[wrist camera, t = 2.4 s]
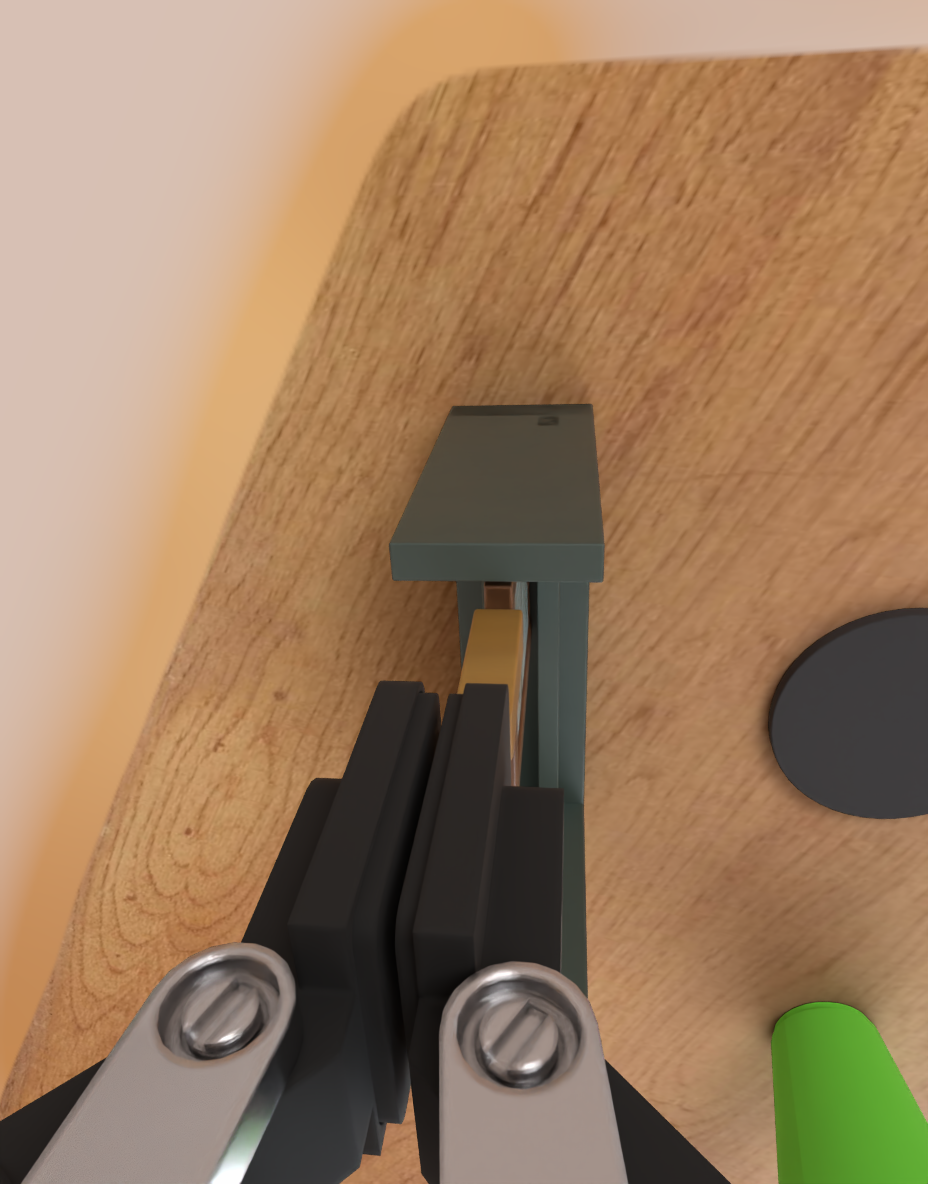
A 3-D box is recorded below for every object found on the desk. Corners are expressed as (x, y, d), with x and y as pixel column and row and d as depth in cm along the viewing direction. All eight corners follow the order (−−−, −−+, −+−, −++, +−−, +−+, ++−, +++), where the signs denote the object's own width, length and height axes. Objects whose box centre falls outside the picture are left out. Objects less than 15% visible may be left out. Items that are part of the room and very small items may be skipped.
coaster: (784, 605, 32) (787, 613, 32) (1064, 608, 31) (1072, 616, 31) (755, 804, 37) (757, 814, 36) (997, 814, 36) (1004, 824, 35)
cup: (829, 1108, 46) (898, 1363, 36) (695, 1039, 45) (730, 1284, 35) (957, 1026, 42) (1072, 1289, 32) (814, 947, 41) (891, 1197, 31)
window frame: (452, 405, 30) (388, 543, 20) (592, 403, 30) (604, 543, 19) (472, 793, 39) (436, 1037, 28) (583, 798, 38) (587, 1048, 27)
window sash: (502, 454, 29) (450, 688, 17) (537, 453, 29) (511, 689, 16) (507, 633, 32) (466, 942, 20) (538, 633, 32) (517, 945, 20)
